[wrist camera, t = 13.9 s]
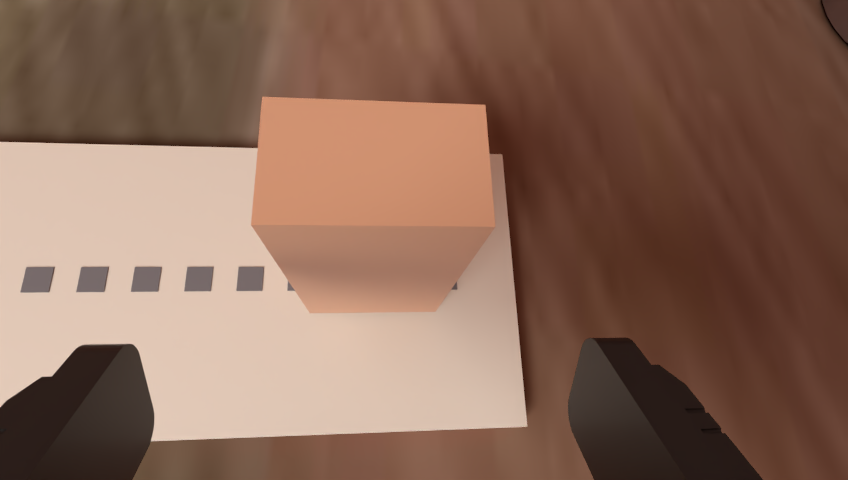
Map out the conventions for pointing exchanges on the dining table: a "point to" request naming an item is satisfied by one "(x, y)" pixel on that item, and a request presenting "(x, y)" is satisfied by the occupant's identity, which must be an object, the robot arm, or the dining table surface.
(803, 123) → the dining table surface
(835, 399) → the dining table surface
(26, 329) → the board
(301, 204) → the tall salmon pink block
